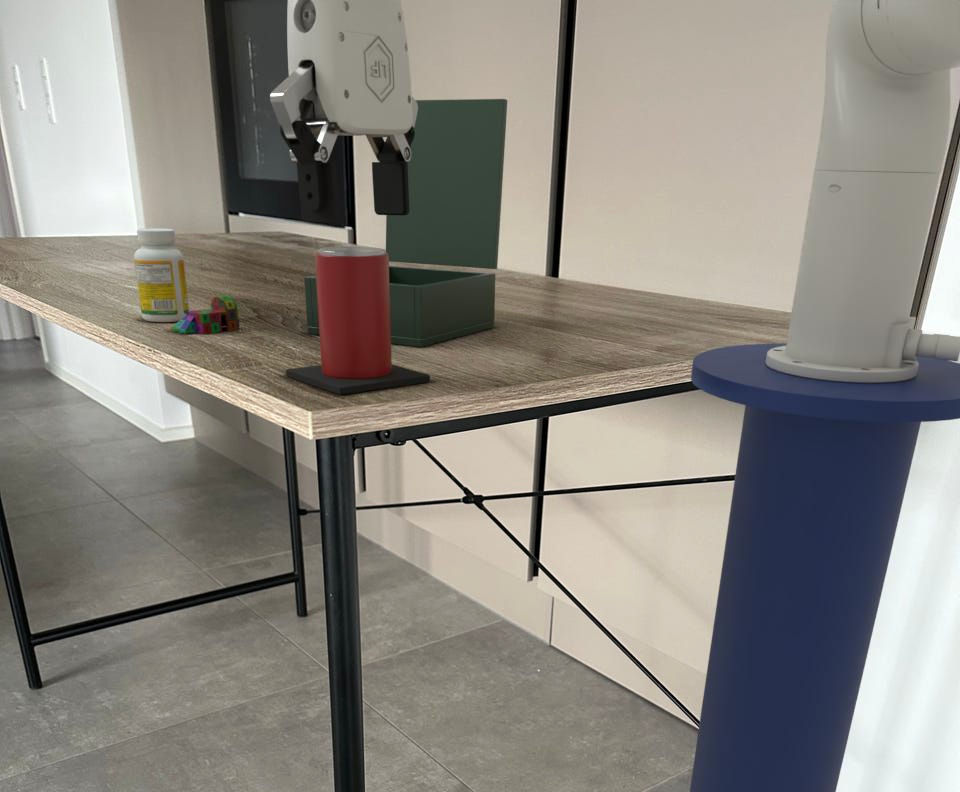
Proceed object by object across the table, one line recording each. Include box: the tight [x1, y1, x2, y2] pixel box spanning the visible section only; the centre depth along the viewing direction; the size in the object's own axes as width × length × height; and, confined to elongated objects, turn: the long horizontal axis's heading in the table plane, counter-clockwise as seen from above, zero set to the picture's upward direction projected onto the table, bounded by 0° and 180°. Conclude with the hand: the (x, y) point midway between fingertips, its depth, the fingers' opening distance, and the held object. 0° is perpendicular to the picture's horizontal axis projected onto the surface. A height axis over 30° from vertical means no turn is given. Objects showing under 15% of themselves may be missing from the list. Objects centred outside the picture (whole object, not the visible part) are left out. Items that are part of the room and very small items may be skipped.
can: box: [314, 246, 393, 379], centre depth 79 cm, size 6×6×10 cm
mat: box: [285, 363, 431, 396], centre depth 81 cm, size 9×9×1 cm
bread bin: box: [303, 264, 496, 348], centre depth 103 cm, size 16×15×6 cm
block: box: [170, 295, 241, 335], centre depth 102 cm, size 6×4×3 cm
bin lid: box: [385, 98, 508, 270], centre depth 106 cm, size 17×15×5 cm
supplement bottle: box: [133, 227, 190, 323], centre depth 107 cm, size 5×5×10 cm
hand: (358, 218), depth 75 cm, fingers open, 9 cm apart
